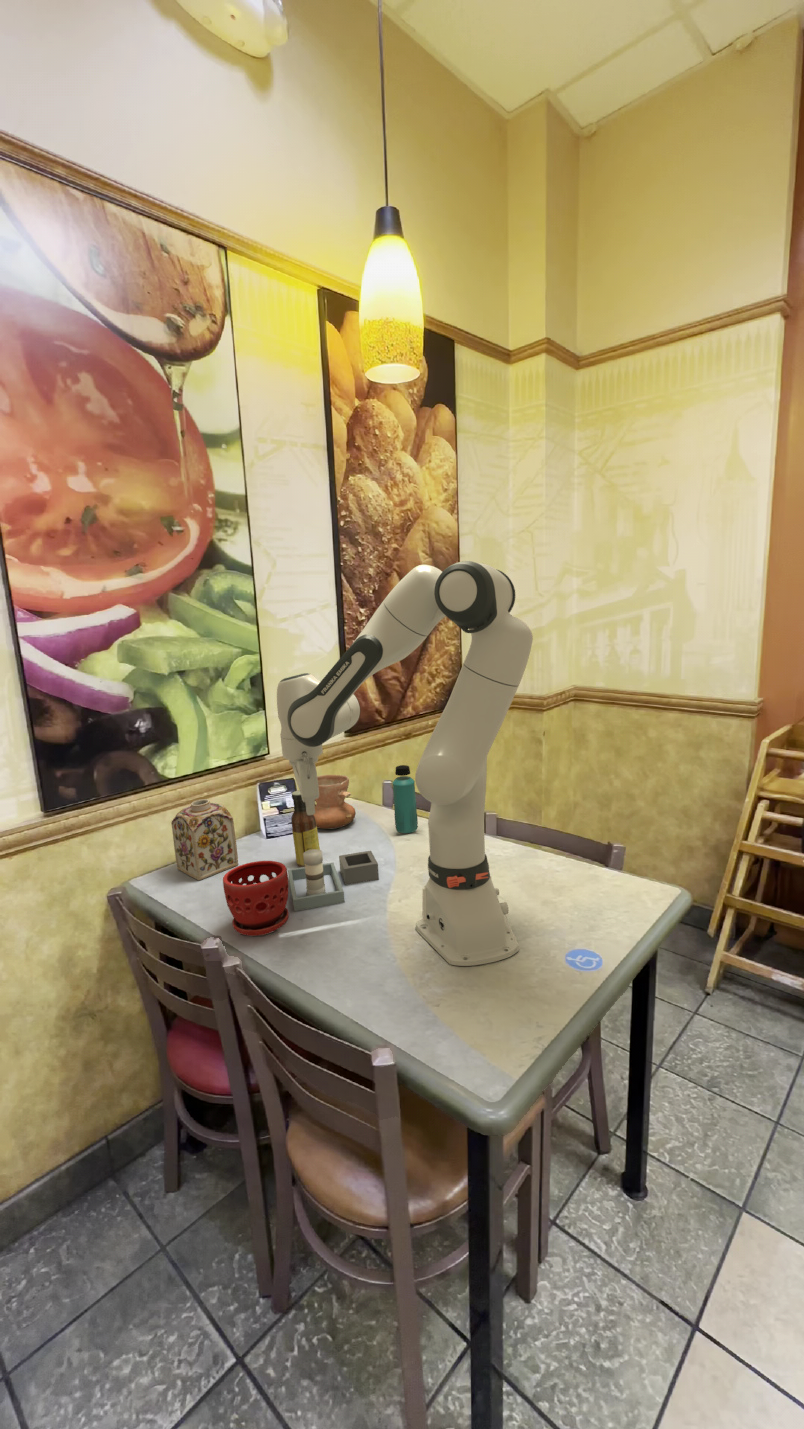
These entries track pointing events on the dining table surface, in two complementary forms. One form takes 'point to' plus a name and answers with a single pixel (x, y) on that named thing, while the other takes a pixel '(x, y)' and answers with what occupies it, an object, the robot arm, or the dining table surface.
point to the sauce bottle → (303, 829)
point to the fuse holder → (358, 867)
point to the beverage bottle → (404, 801)
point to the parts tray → (316, 899)
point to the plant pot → (257, 897)
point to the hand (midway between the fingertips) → (308, 807)
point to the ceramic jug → (333, 802)
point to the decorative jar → (204, 839)
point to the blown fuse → (314, 872)
